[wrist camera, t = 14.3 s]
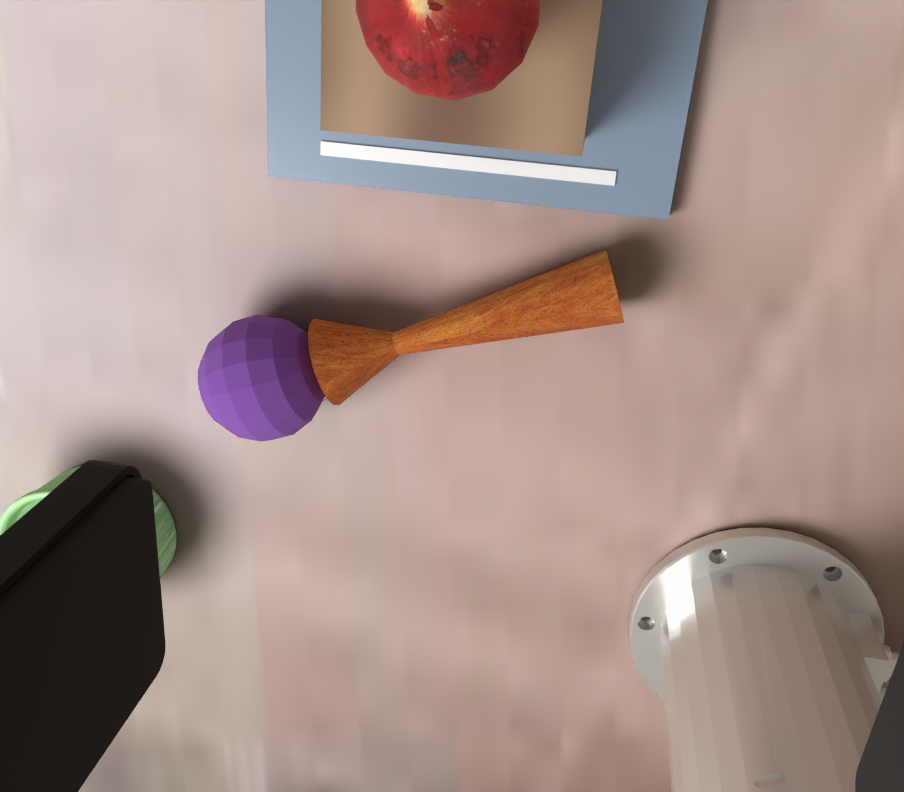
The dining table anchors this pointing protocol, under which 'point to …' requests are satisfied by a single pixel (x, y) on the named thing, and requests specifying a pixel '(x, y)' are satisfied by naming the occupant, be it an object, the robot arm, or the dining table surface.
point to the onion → (448, 42)
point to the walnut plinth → (476, 117)
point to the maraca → (380, 347)
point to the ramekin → (28, 501)
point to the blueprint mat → (496, 169)
